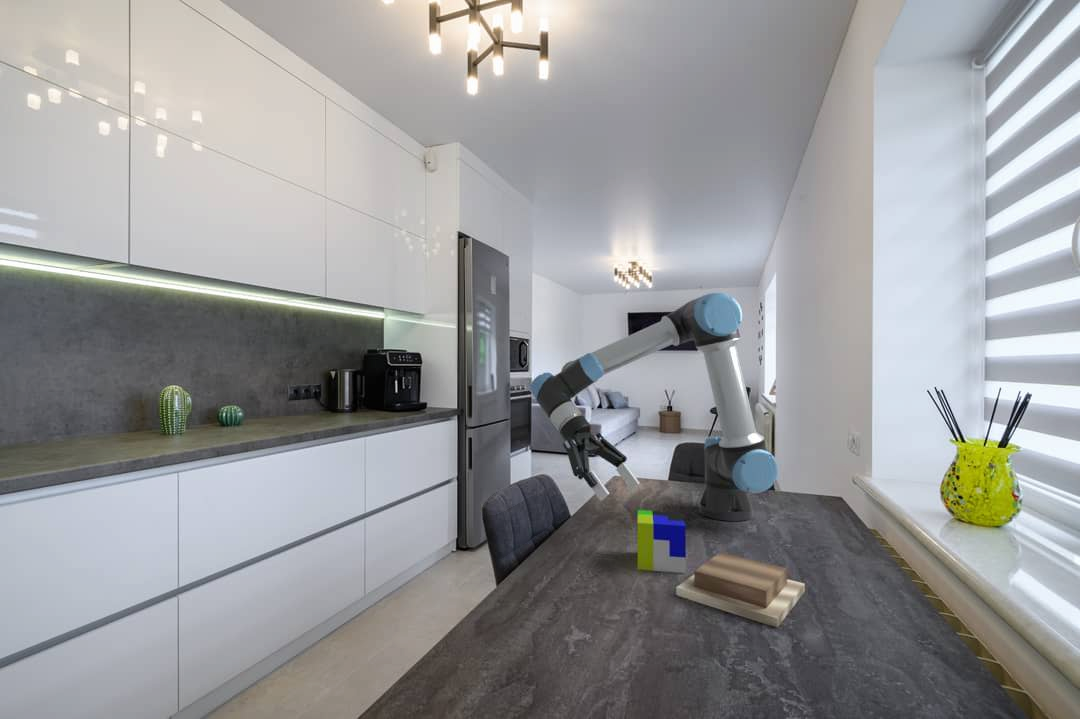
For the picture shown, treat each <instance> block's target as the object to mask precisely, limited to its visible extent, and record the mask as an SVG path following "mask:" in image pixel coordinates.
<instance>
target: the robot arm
mask: <svg viewBox="0 0 1080 719" xmlns="http://www.w3.org/2000/svg"><path fill="white" fill-rule="evenodd" d="M742 311H743V310H742V307H741V306H740V304H739V303H738V301H737V300H736V299H735V298H734V297H733V296H731V295H729V294H727V293H724V292H712V293H711V292H710V293H707V294H704V295H702V296H699V297H697V298H695V299H692V300H689V301H687V303H685V304H683V305H681V307H679V308H677V309H675V310H674V311H672V312H670V313H667V314H666V315H664V316H662V317H661V320H660V321H659V322H656V323H653V324H652V325H649V326H648V327H645V328H642V329H641V330H638V331H636V332H635V333H632V334H629V335H627V336H625V337H622V338H620V339H619V340H617V341H614V342H612V343H610V344H608V345H605V346H603V347H601V348H599V349H597V350H594V351H592V352H587V353H586V354H584V355H582V356H580V357H578V358H576V359H574V360H570V361H569V362H566V363H565V364H564V365H563V366H562V368H561V371H560V372H558V373H557V374H552V373H550V372H543V373H542V374H541V373H540V374H539V375H537V376H536V377H535V378H534V379H533V380H532V381H531V383H530V385H529V389H530V390H529V391H530V392H531V394H532V395H533V398H534V399H535V400H536V402H537V403H538V405H539V406H540V407H541V409H542V410H543V412H544V413H545V415H546V416H547V417H548V418H549V420H550V421H551V422H552V424H553V426H554V427H555V429H556V430H557V431H558V432H559V433H560V435H561V438H563V440H564V441H565V442H564V443H563V444H562V446H563V448H564V449H565V451H566V454H567V456H568V461H569V464H570V467H571V470H572V474H573V476H574V477H576V478H578V479H579V480H583V479H584V481H585V482H586V483H587V485H588V486H589V487H590V488H591V490H592V491H593V493H594V494H595V495H596V497H597V498H598V500H599V501H600V502H603V501H604V500H605V499H606V498H607V497H608V496H609V495H610V492H609V491H608V489H607V488H606V487H605V485H604V483H602V481H601V480H600V478H599V476H598V475H597V474H596V472H595V471H594V470H593V469H592V470H591V469H590V461H589V460H590V459H589V455H594V456H598V457H601V459H604V460H605V461H606V462H608V463H609V464H610V465H613V466H614V467H616V469H615V470H616V472H617V473H618V474H619V476H620V477H621V478H622V480H623V481H624V482H625V483H626V485H627V486H628V488H629V489H630V490H631V491H634V490H635V489H636V487H637V488H638V486H639V485H640V484H641V483H640V481H639V480H638V479H637V478H636V476H635V474H633V472H632V471H631V470H630V468H629V467H628V466H627V464H626V463H625V462H626V461H627V460H628V458H627V456H626V455H625V454H623V452H622V451H620V450H619V449H617V448H616V447H615V446H614V445H613V444H612V443H610V442H609V441H608V440H607V439H606V438H605V437H604V436H603V435H602V434H601V433H600V432H598V433H596V434H595V435H593V434H592V433H591V427H592V426H591V424H590V423H589V422H588V420H587V419H586V417H585V416H584V415H582V412H581V410H579V408H578V407H577V405H576V404H575V403H574V402H573V401H572V398H574V397H576V396H577V395H578V394H579V393H581V392H582V391H584V390H585V389H587V388H588V387H590V386H591V385H593V384H594V383H597V381H598V380H599V379H601V378H602V377H603V376H604V375H607V374H609V373H611V372H613V371H615V370H617V369H621V368H622V367H625V366H627V365H629V364H632V363H633V362H635V361H639V360H640V359H642V358H644V357H646V356H649V355H652V354H653V353H656V352H658V351H660V350H662V349H665V348H667V347H669V346H671V345H673V346H675V347H677V346H679V345H681V344H684V343H687V342H691V341H694V344H695V347H696V349H698V351H700V352H702V354H703V358H704V361H705V365H706V370H707V374H708V378H709V382H710V387H711V390H712V395H713V399H714V404H715V408H716V411H717V416H718V420H719V425H720V429H721V434H722V436H709V437H707V438H705V439H704V440H705V441H704V447H703V450H704V488H703V491H702V494H701V498H700V500H699V504H698V512H699V514H701V515H702V516H704V517H706V518H710V519H714V520H719V521H720V520H721V521H726V522H727V521H728V522H741V521H742V522H743V521H749V520H751V519H753V517H754V509H753V505H752V503H751V500H750V496H749V493H754V494H758V493H763V492H765V491H767V490H768V489H770V488H772V486H773V485H774V483H775V482H776V480H777V479H778V475H779V464H778V461H777V459H776V457H775V456H774V455H773V454H772V453H771V452H769V451H768V450H767V444H766V441H765V438H764V437H765V436H763V435H761V434H760V433H758V432H757V429H756V424H755V421H754V417H753V413H752V408H751V403H750V401H749V396H748V392H747V391H748V390H747V387H746V383H745V379H744V378H745V377H744V374H743V370H742V366H741V362H740V358H739V354H738V349H737V344H738V342H739V341H740V340H741V335H740V331H739V327H740V325H741V323H742V321H743V312H742ZM748 492H749V493H748Z"/></svg>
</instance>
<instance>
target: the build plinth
mask: <svg viewBox="0 0 1080 719" xmlns="http://www.w3.org/2000/svg"><path fill="white" fill-rule="evenodd" d="M805 584H806V583H804V582H799V581H795V580H791V579H788V568H787V567H786V568H785V567H782V566H778V565H775V564H769V563H765V562H762V561H757V560H753V559H749V558H745V557H741V556H737V555H733V554H730V553H729V554H728V553H724V552H722V551H721V552H719V553H717V554H716V555H715V556H713V557H712V558H710V559H709V560H708V561H706V562H705V563H703V564H702V565H701V566H700V567H698V568H696V569H695V570H694V574H693V575H692V576H690V577H688V578H687V579H685V580H684V581H683V582H682V583H680V584H679V585H677V586H676V588H675V590H676V596H677V595H678V596H677V597H681V598H684V599H686V598H687V600H690V601H693V602H696V603H699V604H703V605H706V606H708V607H711V608H713V609H718V610H720V611H721V610H722V611H724V612H728V613H731V614H734V615H737V616H740V617H744V618H745V619H750V620H753V621H754V622H755V621H756V622H758V623H762V624H765V625H768V626H772V627H774V628H779V626H780V625H781V624H782V623H783V621H784V620H785V619H786V617H787V616H788V614H789V613H790V612H791V610H793V608H794V606H795V605H796V604H797V602H798V601H799V600H800V598H801V597H802V596H803V594H804V593H805V591H806V590H805V589H806V587H805V586H806V585H805Z"/></svg>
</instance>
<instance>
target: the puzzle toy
mask: <svg viewBox="0 0 1080 719" xmlns="http://www.w3.org/2000/svg"><path fill="white" fill-rule="evenodd" d="M686 529H687V527H686V523H685V519H684V516H683V512H677V511H676V512H674V511H660V510H658V511H657V510H655V511H654V510H641V509H640V510H639V509H637V570H643V571H644V570H645V571H653V572H654V571H655V572H667V573H676V574H677V573H679V574H680V573H681V574H686V573H687V570H686V569H687V567H686V566H687V563H686V562H687V561H686V560H687V559H686V556H687V555H686V554H687V552H686V550H687V549H686V547H687V546H686V545H687V544H686V543H687V540H686V538H687V537H686V534H687V533H686V532H687V531H686Z"/></svg>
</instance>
